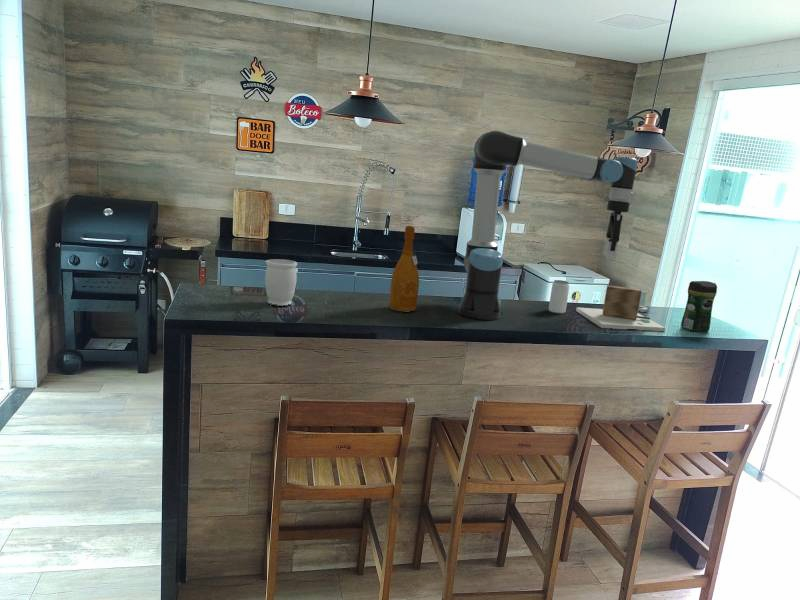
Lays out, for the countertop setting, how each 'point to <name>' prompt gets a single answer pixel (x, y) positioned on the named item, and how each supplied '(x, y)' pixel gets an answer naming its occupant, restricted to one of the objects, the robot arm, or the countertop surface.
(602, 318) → the dial plate
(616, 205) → the robot arm
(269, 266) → the jar
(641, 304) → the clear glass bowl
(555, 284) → the can
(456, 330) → the countertop surface
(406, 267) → the wine bottle
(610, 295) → the brown wooden box
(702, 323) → the coffee jar
